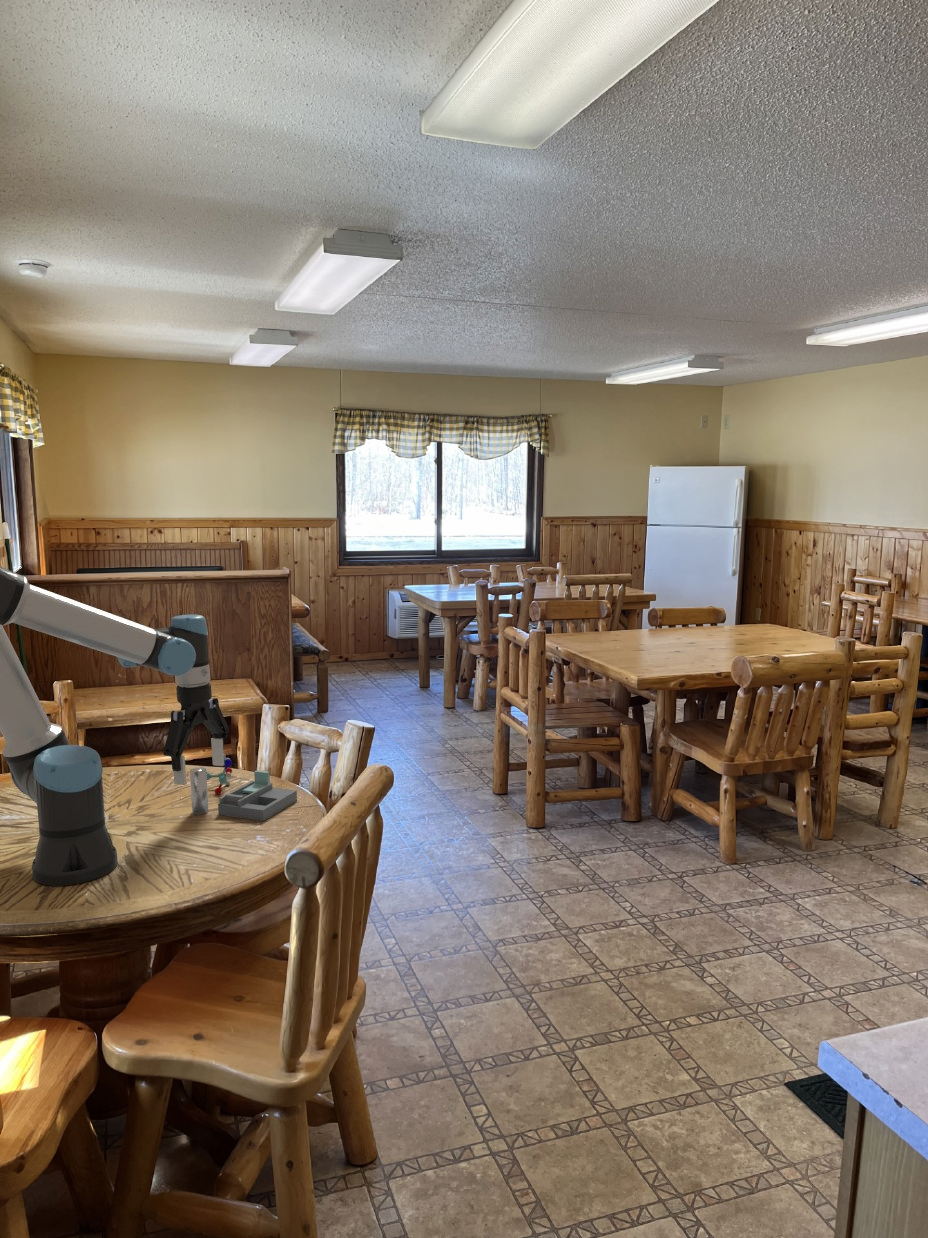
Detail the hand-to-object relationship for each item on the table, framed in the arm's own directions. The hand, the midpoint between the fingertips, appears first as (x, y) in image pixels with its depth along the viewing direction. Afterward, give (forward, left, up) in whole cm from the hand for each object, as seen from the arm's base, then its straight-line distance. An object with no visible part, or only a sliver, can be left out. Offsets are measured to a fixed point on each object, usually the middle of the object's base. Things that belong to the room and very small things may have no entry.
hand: (200, 774), depth 197 cm
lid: (+11, -8, -6) cm, 14 cm away
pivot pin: (0, 0, -9) cm, 9 cm away
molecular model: (+16, +6, -9) cm, 19 cm away
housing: (+7, -11, -9) cm, 15 cm away
